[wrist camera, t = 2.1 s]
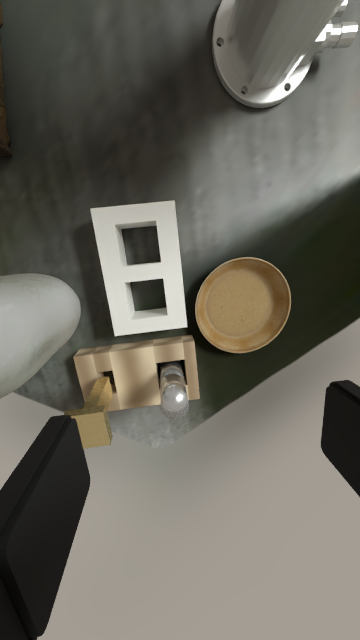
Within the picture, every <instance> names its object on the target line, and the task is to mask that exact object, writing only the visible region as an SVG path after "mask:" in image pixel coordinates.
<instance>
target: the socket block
mask: <svg viewBox="0 0 360 640" xmlns="http://www.w3.org/2000/svg"><path fill="white" fill-rule="evenodd" d="M73 358H74V362H75V366H76V370H77V374H78V378H79V382H80V386H81V390H82V394H83V398H84V402H86V400H87V399H88V397H89V395H90V393H91V391H92V389H93V387H94V385H95V383H96V381H97V379H98V378H101V377H104V373H103V372H105V371H112V370H113V375H114V380H115V384H111V388H112V393H113V397H112V400H111V402H110V405H109V408H108V411H116V410H123V409H130V408H137V407H144V406H151V405H158V404H160V379H159V374H158V367H157V363H161V362H169V361H176V360H184V367H185V376H184V381H185V386H186V392H187V397H188V400H193V399H200V396H199V385H198V374H197V364H196V353H195V343H194V339H193V337H192V335H186V336H178V337H170V338H162V339H154V340H146V341H139V342H131V343H123V344H115V345H107V346H99V347H91V348H83V349H79V351H78V352H77V353H76V354H75V355H74V356H73ZM108 411H107V412H108Z"/></svg>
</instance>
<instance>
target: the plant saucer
mask: <svg viewBox="0 0 360 640" xmlns="http://www.w3.org/2000/svg"><path fill="white" fill-rule="evenodd" d="M290 307H291V295H290V289H289V286H288V284H287V281H286V279H285V277H284V276H283V274H282V273H281V272H280V271H279V270H278V269H277V268H276V267H275V266H273V265H272V264H271V263H269V262H267V261H265V260H262V259H259V258H252V257H243V258H237V259H233V260H230V261H228V262H225V263H223V264H222V265H220V266H219V267H217V268H216V269H215V270H214V271H212V272H211V273H210V274H209V275H208V277H207V278H206V279H205V281H204V282H203V284H202V285H201V287H200V289H199V292H198V295H197V298H196V304H195V315H196V321H197V324H198V327H199V329H200V331H201V333H202V334H203V336H204V337H205V338H206V339H207V340H208V341H209V342H210V343H211V344H212V345H214V346H215V347H217V348H219V349H221V350H223V351H226V352H231V353H246V352H250V351H254V350H257V349H259V348H261V347H263V346H265V345H267V344H268V343H269V342H271V341H272V340H273V339H274V338H275V337H276V336H277V335H278V334H279V333H280V331H281V330H282V329H283V327H284V325H285V323H286V321H287V318H288V315H289V312H290Z"/></svg>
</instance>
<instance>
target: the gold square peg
mask: <svg viewBox="0 0 360 640" xmlns="http://www.w3.org/2000/svg"><path fill="white" fill-rule="evenodd" d="M112 397H113V393H112V388H111V384H110V379H109V377H101V378H98V379H97V381H96V383H95V385H94V387H93V389H92V391H91V393H90V395H89V397H88V399H87V400H86V402H85V404H84V406H83V408H82V409H74V410H67V411H66V412H65V413H64V415H70V416H71V418H75V419H76V421H77V425H78V429H79V433H80V437H81V442H82V446H83V449H84V448H90V447H97V446H104V445H110V444H111V440H112V432H111V428H110V423H109V419H108V415H107V411H108V408H109V405H110V402H111V400H112Z"/></svg>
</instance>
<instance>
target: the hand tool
mask: <svg viewBox="0 0 360 640" xmlns="http://www.w3.org/2000/svg"><path fill="white" fill-rule="evenodd" d="M2 25H3V17H2V9H1V3H0V28H1V27H2ZM4 90H5V85H4V78H3V66H2V54H1V37H0V156H4V157H8V156H13V153H12V151H11V150H10V149H9V145H10V143H11V139H10V136H9V135H8V132H7V113H6V106H5V96H4Z"/></svg>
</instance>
